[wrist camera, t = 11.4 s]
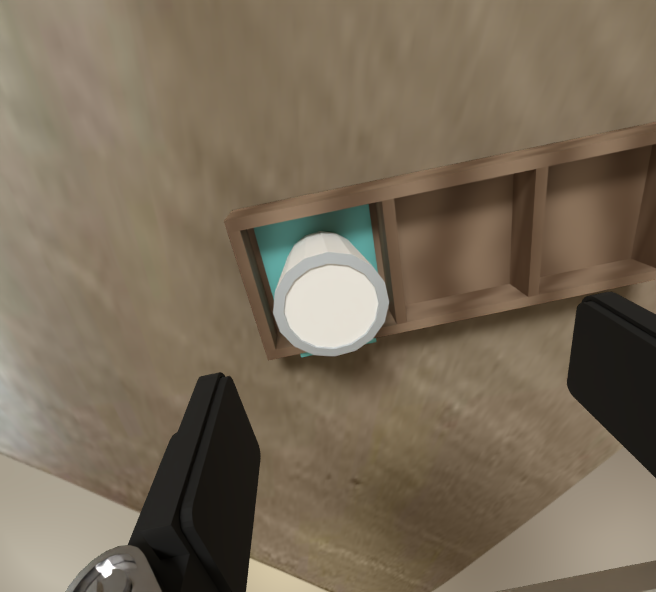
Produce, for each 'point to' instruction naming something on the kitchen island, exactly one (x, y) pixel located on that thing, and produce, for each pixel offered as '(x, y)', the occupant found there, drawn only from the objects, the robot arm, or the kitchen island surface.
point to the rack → (473, 232)
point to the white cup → (329, 296)
